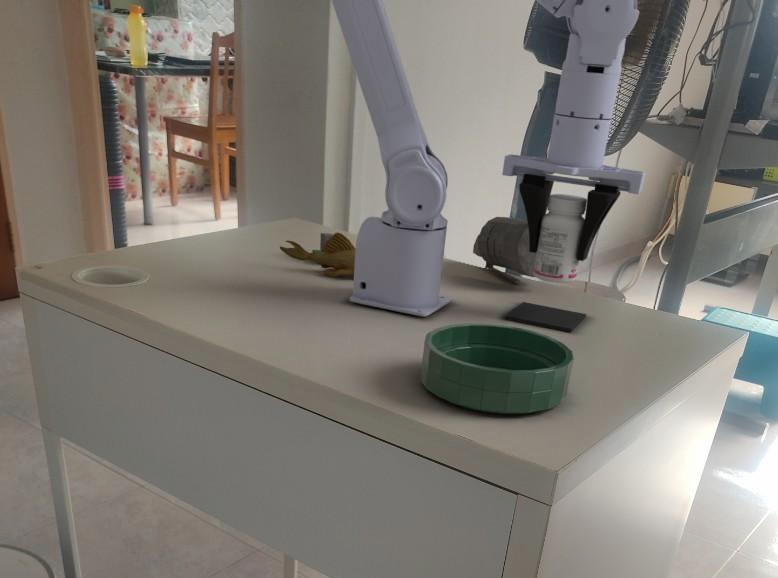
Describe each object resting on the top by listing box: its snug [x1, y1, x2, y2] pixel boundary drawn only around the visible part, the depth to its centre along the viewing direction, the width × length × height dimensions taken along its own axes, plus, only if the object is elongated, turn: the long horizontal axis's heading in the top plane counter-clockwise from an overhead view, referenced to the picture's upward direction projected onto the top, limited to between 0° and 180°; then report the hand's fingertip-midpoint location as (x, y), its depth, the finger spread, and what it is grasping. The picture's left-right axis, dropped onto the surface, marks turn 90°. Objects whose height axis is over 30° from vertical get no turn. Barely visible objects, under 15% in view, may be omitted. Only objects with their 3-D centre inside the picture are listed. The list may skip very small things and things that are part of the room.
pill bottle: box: [533, 193, 587, 284], centre depth 91 cm, size 5×5×8 cm
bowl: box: [420, 322, 575, 415], centre depth 73 cm, size 13×13×4 cm
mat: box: [504, 301, 587, 333], centre depth 95 cm, size 8×7×1 cm
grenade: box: [472, 216, 536, 285], centre depth 109 cm, size 8×8×15 cm
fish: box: [279, 232, 356, 278], centre depth 104 cm, size 5×14×5 cm, turn 77°
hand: (557, 254), depth 91 cm, fingers closed on pill bottle, 5 cm apart
